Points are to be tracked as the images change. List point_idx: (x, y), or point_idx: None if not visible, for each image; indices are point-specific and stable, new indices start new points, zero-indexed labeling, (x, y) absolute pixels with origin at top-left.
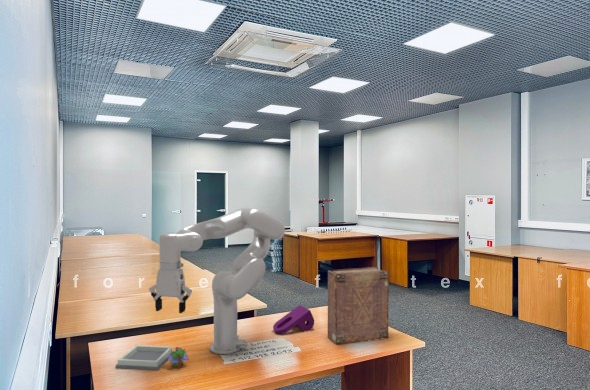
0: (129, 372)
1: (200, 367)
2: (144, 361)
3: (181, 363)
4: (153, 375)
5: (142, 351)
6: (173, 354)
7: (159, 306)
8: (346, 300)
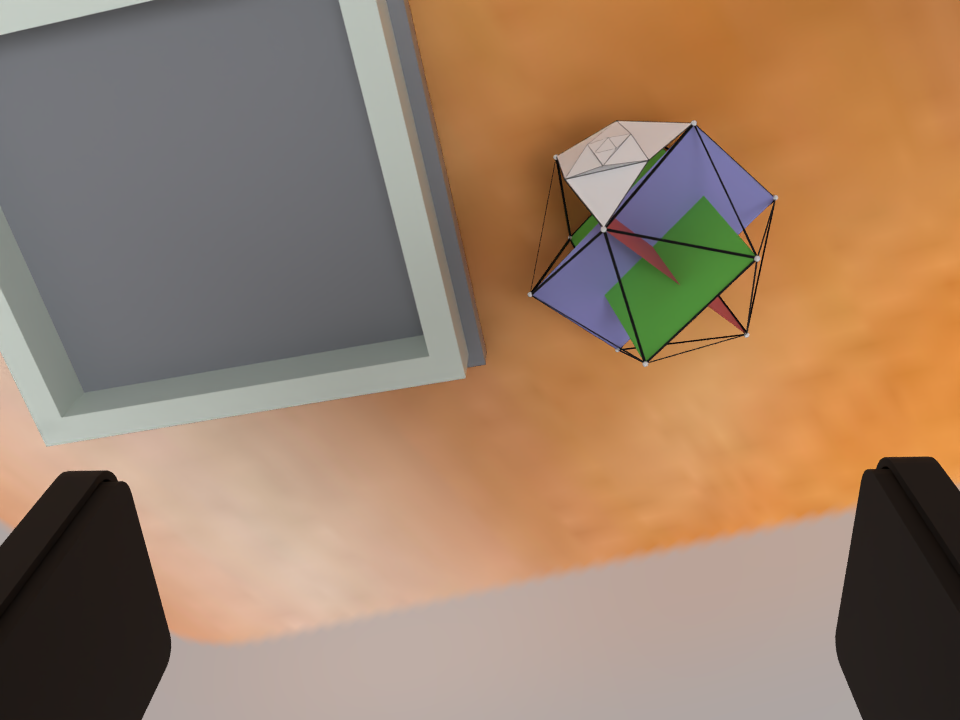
0: (261, 451)
1: (905, 167)
2: (326, 400)
3: (650, 159)
4: (510, 443)
5: (6, 49)
6: (631, 334)
7: (111, 661)
8: None
